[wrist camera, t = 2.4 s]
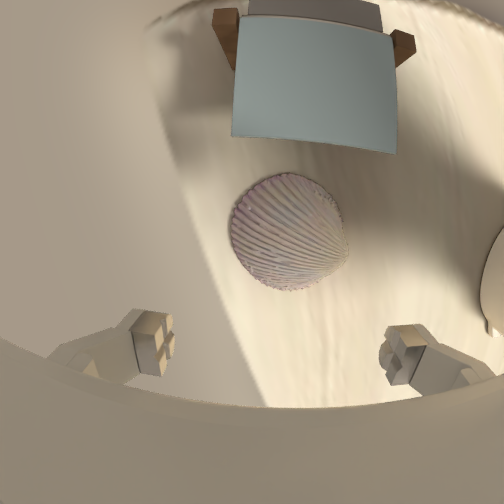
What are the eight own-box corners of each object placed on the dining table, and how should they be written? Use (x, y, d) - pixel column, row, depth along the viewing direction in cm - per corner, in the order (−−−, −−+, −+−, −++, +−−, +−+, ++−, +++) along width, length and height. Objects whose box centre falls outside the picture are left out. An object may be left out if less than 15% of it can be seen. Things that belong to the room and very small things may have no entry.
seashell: (334, 317, 22) (219, 298, 20) (314, 287, 27) (218, 268, 25) (380, 203, 19) (256, 162, 17) (349, 191, 24) (247, 159, 22)
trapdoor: (367, 31, 15) (386, 3, 10) (369, 157, 18) (396, 154, 13) (249, 17, 15) (243, -16, 11) (241, 144, 18) (231, 135, 14)
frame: (372, 47, 18) (407, 6, 10) (374, 84, 19) (416, 52, 11) (235, 33, 18) (218, -19, 10) (232, 70, 20) (211, 25, 12)
